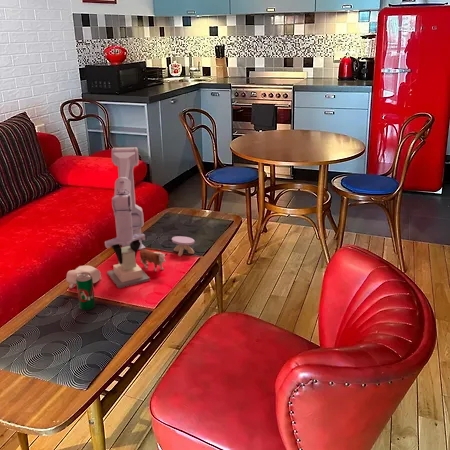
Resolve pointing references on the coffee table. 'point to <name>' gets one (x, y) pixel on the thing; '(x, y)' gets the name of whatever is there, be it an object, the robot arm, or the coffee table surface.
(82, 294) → the soda can
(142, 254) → the bull figurine
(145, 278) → the tower base
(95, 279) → the white lumpy shape
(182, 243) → the toy table
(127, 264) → the sage brick
